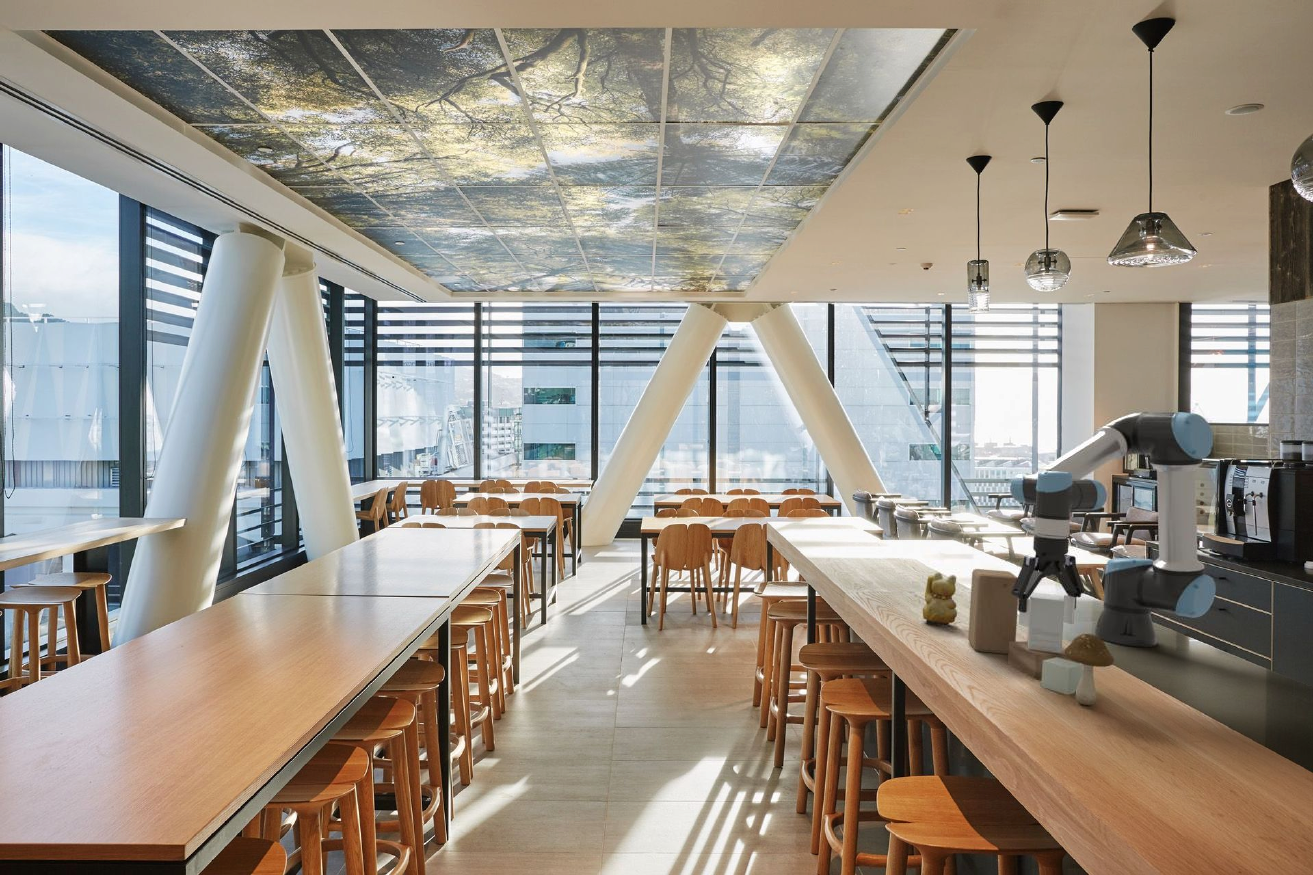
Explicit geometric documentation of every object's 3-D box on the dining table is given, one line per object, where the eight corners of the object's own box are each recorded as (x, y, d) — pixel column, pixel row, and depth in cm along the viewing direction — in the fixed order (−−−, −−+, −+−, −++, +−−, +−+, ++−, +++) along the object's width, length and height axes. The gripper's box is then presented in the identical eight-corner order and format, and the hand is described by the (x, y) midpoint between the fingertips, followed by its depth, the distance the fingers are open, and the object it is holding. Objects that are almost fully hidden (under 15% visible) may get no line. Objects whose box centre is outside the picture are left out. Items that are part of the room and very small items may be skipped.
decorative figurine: (958, 624, 236) (961, 573, 236) (952, 630, 229) (955, 577, 229) (924, 619, 241) (927, 569, 241) (917, 624, 234) (920, 572, 234)
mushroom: (1066, 711, 166) (1071, 638, 165) (1056, 693, 177) (1061, 625, 176) (1117, 718, 163) (1121, 644, 163) (1103, 700, 174) (1108, 631, 174)
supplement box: (1060, 647, 195) (1063, 595, 194) (1061, 654, 188) (1065, 600, 188) (1026, 642, 198) (1029, 590, 197) (1026, 649, 191) (1030, 596, 191)
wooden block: (1015, 655, 206) (1020, 577, 205) (974, 651, 208) (978, 574, 207) (1006, 645, 215) (1011, 571, 215) (967, 641, 217) (971, 567, 217)
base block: (1049, 665, 199) (1050, 641, 199) (1078, 680, 188) (1079, 655, 188) (1007, 665, 198) (1009, 641, 198) (1034, 680, 187) (1036, 654, 187)
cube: (1055, 683, 185) (1056, 657, 185) (1081, 691, 180) (1083, 664, 180) (1041, 687, 181) (1042, 660, 181) (1067, 695, 176) (1069, 668, 176)
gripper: (1077, 532, 200) (1072, 617, 201) (998, 534, 191) (993, 622, 192) (1103, 537, 193) (1098, 625, 194) (1022, 539, 184) (1017, 631, 185)
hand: (1046, 624), depth 193 cm, fingers open, 13 cm apart
